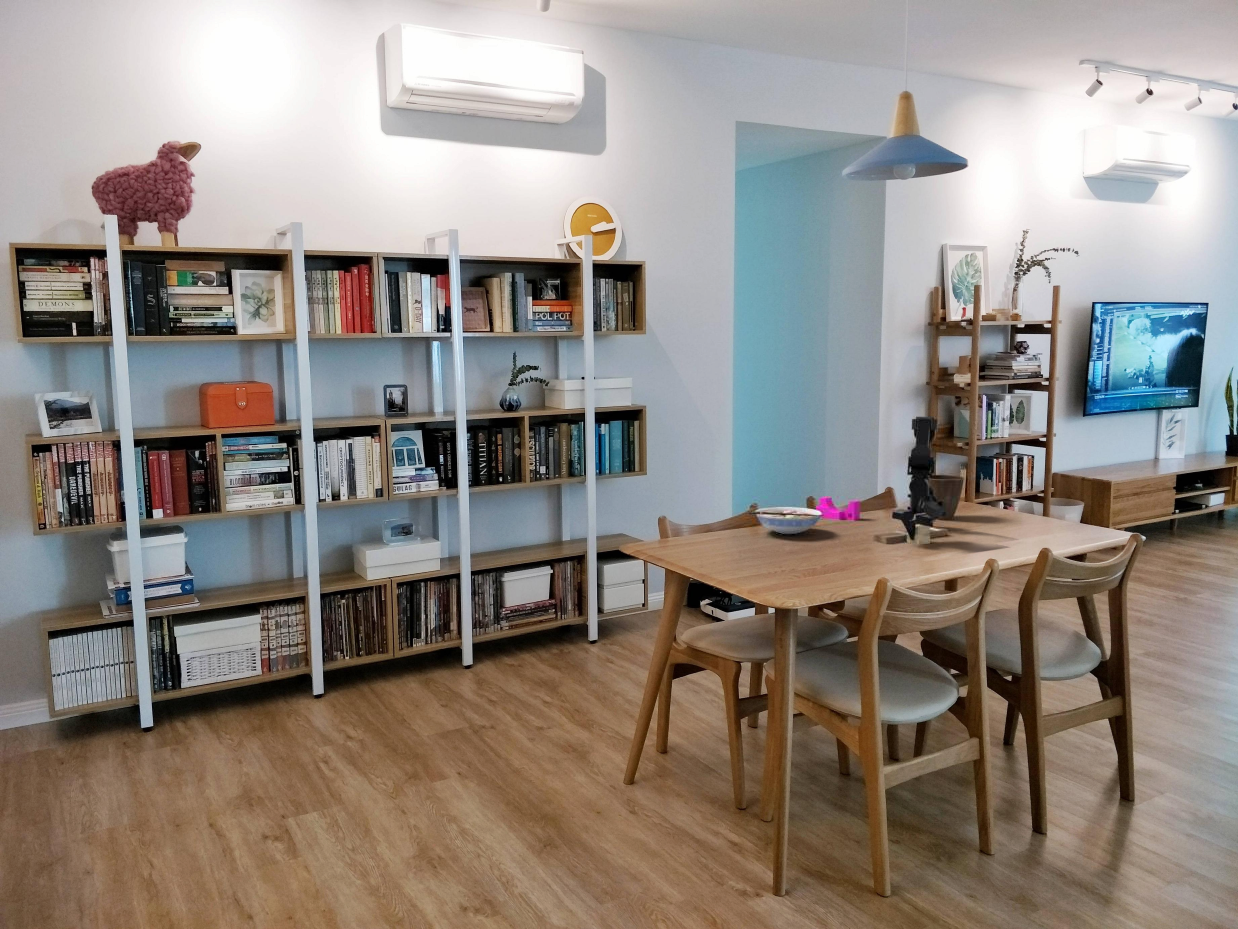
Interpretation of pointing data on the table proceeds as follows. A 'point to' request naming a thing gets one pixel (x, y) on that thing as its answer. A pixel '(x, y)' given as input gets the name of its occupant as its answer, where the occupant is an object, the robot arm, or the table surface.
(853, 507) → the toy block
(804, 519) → the ramen bowl
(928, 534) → the cream cube
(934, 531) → the walnut plank
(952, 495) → the plant pot
